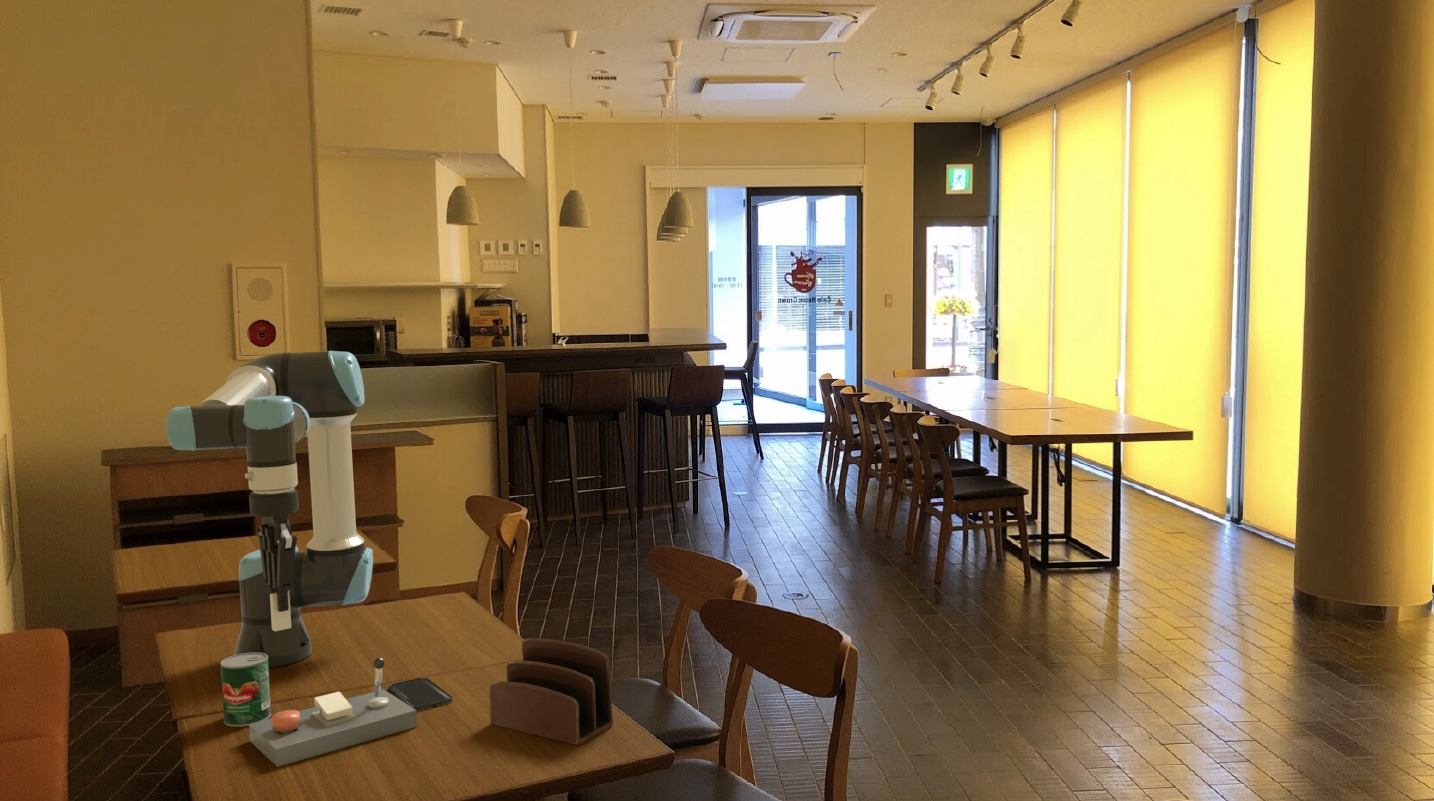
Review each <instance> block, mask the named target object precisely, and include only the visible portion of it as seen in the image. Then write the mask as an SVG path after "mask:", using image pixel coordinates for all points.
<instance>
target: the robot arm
mask: <svg viewBox="0 0 1434 801" xmlns="http://www.w3.org/2000/svg"><path fill="white" fill-rule="evenodd" d="M364 404H365V386H364V381H363V375H362V372H361V367H360V364H359V362H358V360H357V358H356V356H355V355H354V354H353V353H351V352H349V351H337V350H323V351H322V350H321V351H303V352H275V353H271V354H266V355H263V356H260V357H257V358H254V359H252V360H250V361H247V362H245V363H243V364H242V365H240V366H239V367H237V368H235V369H234V370H233V371H232V372H230V373H229V375H228V376H227V378H226V380H225V383H224V384H223V385H222V386H220V387H219V388H218V389H217V390H216V391H214V392H213V393H212V394H210V395H209V396H207V397H206V398H205V399H204V400H203V401H201V402H200V403H198V404H197V405H185V406H175V407H173V408H171V409H170V410H169V412H168V414H167V416H166V421H165V422H166V423H165V431H166V437H167V441H168V444H169V446H170V447H171V448H173V449H174V450H176V451H192V452H195V451H206V450H207V451H208V450H224V449H225V450H227V449H246V451H245V452H246V464H247V472H246V473H244V478H245V479H248V480H247V481H248V489H249V490H251V491H252V492H250V493H249V495H248V499H249V500H248V501H249V502H248V503H249V512H250V514H251V516H254V517H258V518H261V522H260V525H258V526H256V528H255V531H256V535H257V539H258V546H259V549H257V550H255V551H251V552H249V553H247V554H245V555H244V556H243V557H241V559H240V560H239V564H238V578H237V579H238V584H239V585H238V586H239V597H240V598H239V599H240V613H241V628H240V631H239V635H238V639H237V642H236V645H235V649H234V655H237V654H243V653H252V652H258V653H264V654H267V655H268V669H269V668H275V667H280V666H281V667H282V666H286V665H290V664H293V663H297V662H299V661H302V660H304V659H306V658H307V657H309V656H310V655H311V654H312V652H313V648H312V647H313V646H312V641H311V638H310V636H309V633H308V630H307V628H306V625H305V622H304V621H303V618H302V611H301V609H302V608H310V607H324V606H326V607H328V606H340V605H342V606H346V605H350V604H351V605H353V604H361V603H363V602H364V601H365V600H366V599H367V597H368V595H369V591H370V588H371V583H372V575H373V568H374V555H373V554H374V550H373V549H372V548H370V547H366V546H365V539H364V538H363V536H361V535H360V534H359V533H358V532H357V523H356V520H357V519H356V504H355V486H354V484H355V483H354V468H353V451H352V432H351V431H352V430H351V423H352V421H353V420H354V419H355V417H356V416H358V408H360V407H362V406H364ZM306 435H307V448H308V464H309V481H310V482H309V483H310V497H311V498H310V499H311V511H312V512H311V513H312V514H311V515H312V529H313V530H312V531H313V537H312V538H311V539H310V540H309V541H308V542H307V544H306V551H299V547H298V546H297V542H298V541H297V540H298V537H297V535H296V534H294V535H292V533H293V528H292V524H291V523H290V520H289V515H291V514H294V513H297V511H299V509H300V507H299V506H300V504H299V491H298V490H297V489H296V487H297V486H298V484H299V480H298V479H299V477H298V463H297V458H296V444H298V443H299V442H301V441H302V440H303V439H304V437H306Z"/></svg>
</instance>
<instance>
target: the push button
mask: <svg viewBox="0 0 1434 801" xmlns="http://www.w3.org/2000/svg"><path fill="white" fill-rule="evenodd" d="M299 711H300V710H296V709H286V710H280V711H277V712H276V713H274V714H271V718H272V729H273V730H274V731H278V732H280V735H282V734H285V733H289V732H293V729H296V728H298V727H299V726H300V712H299Z"/></svg>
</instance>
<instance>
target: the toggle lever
mask: <svg viewBox="0 0 1434 801" xmlns="http://www.w3.org/2000/svg"><path fill="white" fill-rule="evenodd" d="M385 664H386V660H385V658H383V657H375V659H374V660H373V662H372V665H373V667H374V668H375V669H374V670H375V671H374V692H375V694H374V696H375V697H381V695H382V690H383V689H382V688H383V668H384V667H385Z"/></svg>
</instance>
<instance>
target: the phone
mask: <svg viewBox="0 0 1434 801" xmlns="http://www.w3.org/2000/svg"><path fill="white" fill-rule="evenodd" d="M387 690H388V692H389V693H390V694H392V695H393V696H395V697H396V698H398V699H400V700H401V701H403V702H404V703H406V704H407V705H409V706H410V707H412V708H414V709H415V710H416V712H421V710H422V711H425V709H426V710H429V708H430V709H432V708H431V707H434V706H438V707H441V706H440V705H442V706H445V705H450V704H452V703H453V698H454V697H453V696H452V695H451V694H449V693H448V692H447V691H445V690H444V689H443V688H441V687H440V686H438V685H437V684H436V682H433V681H432V680H431V679H430V678H428V677H425V676H424V677H423V676H422V677H417V678H413V679H409V680H404V681H399V682H397V683H391V684H389V685H388V686H387ZM434 708H435V707H434Z"/></svg>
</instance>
